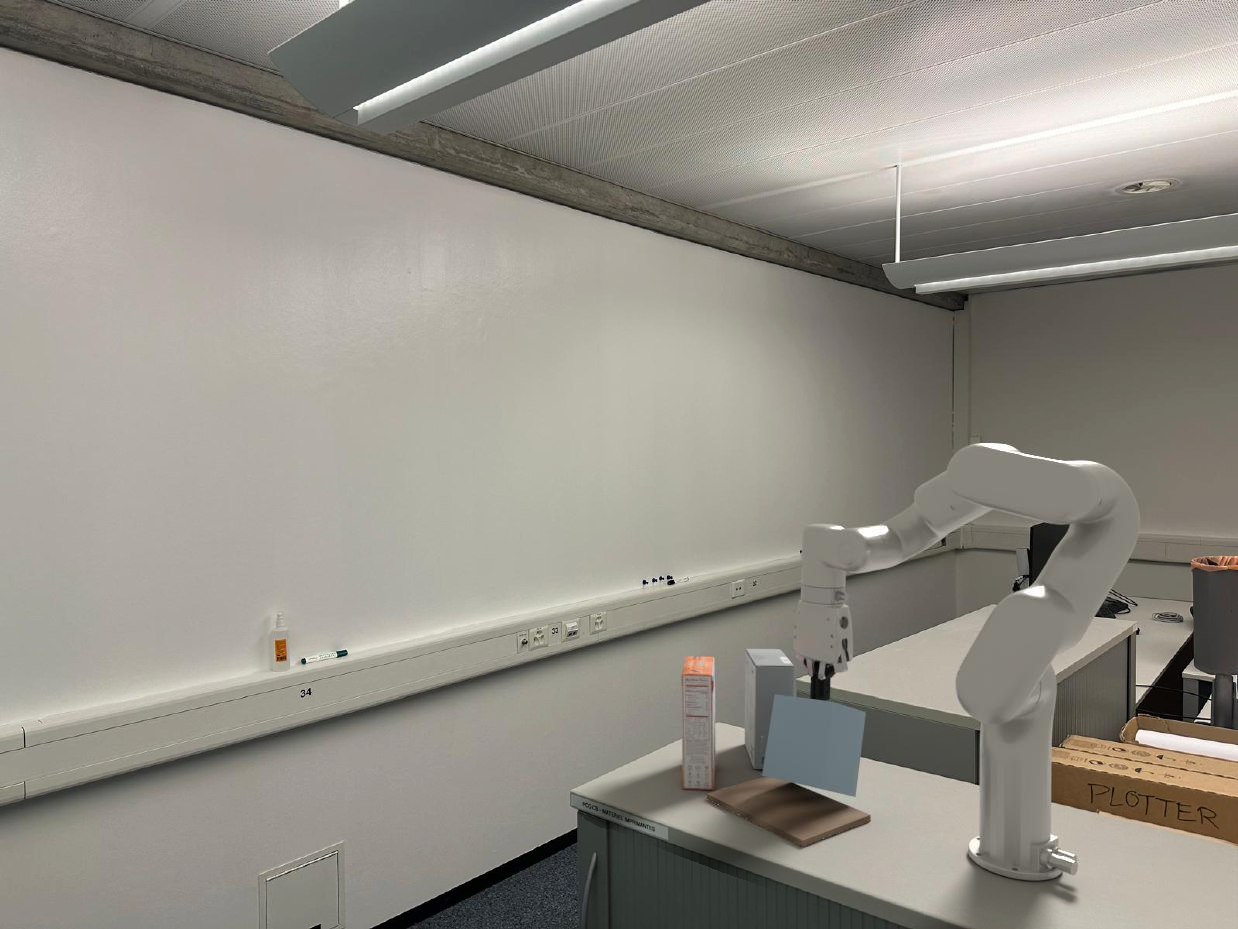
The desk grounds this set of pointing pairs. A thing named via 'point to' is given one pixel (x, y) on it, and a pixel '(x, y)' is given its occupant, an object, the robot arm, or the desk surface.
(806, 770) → the carton
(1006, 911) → the desk surface
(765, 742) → the hard drive box
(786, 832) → the thin wooden board
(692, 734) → the cracker box
